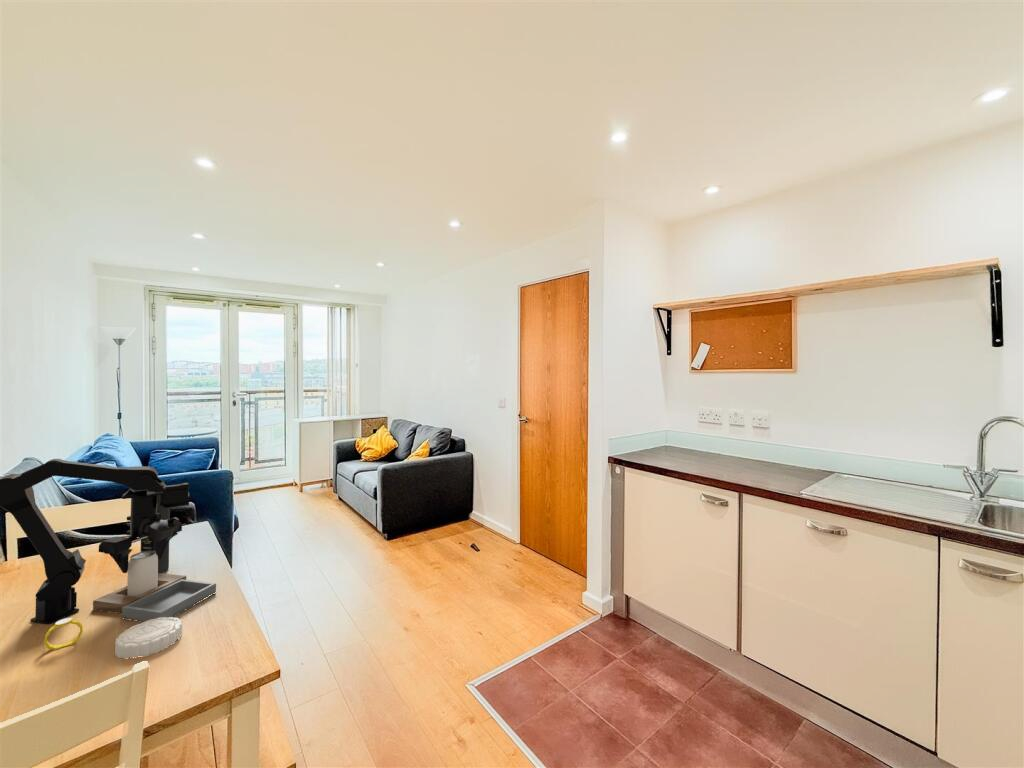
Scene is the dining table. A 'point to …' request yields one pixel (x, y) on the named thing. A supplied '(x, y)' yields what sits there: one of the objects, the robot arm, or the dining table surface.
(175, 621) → the mooncake
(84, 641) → the dining table surface
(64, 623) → the watch
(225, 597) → the dining table surface
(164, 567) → the wine bottle
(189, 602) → the tray
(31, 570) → the dining table surface
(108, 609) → the holder
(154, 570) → the can
